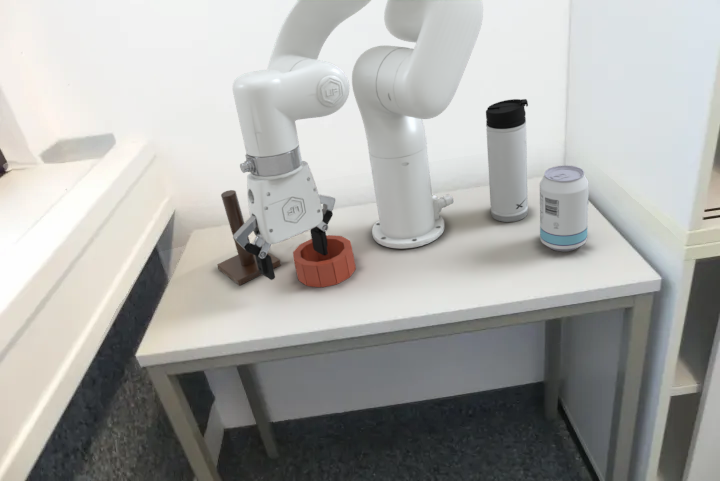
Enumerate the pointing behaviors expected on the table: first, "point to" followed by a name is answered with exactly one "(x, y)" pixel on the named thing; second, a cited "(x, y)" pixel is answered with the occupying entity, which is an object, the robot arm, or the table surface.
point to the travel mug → (507, 159)
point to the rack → (245, 262)
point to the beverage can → (564, 208)
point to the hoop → (324, 262)
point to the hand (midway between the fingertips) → (295, 264)
